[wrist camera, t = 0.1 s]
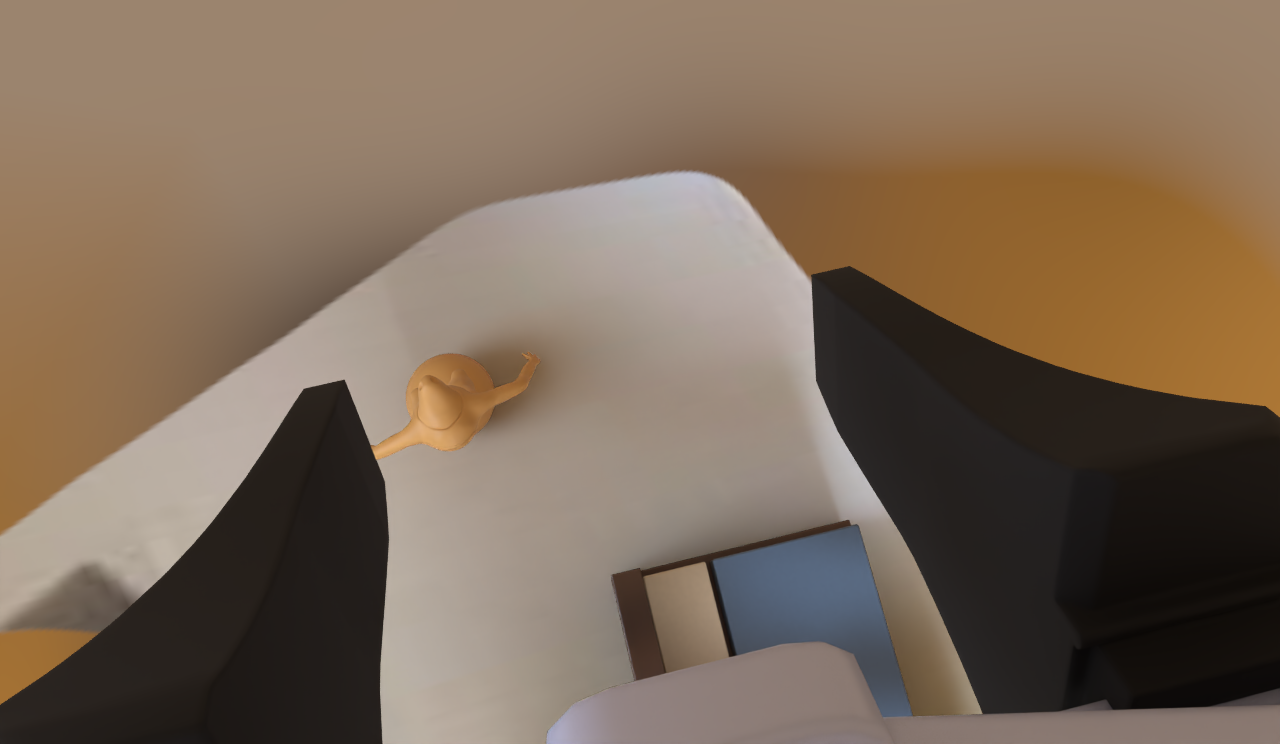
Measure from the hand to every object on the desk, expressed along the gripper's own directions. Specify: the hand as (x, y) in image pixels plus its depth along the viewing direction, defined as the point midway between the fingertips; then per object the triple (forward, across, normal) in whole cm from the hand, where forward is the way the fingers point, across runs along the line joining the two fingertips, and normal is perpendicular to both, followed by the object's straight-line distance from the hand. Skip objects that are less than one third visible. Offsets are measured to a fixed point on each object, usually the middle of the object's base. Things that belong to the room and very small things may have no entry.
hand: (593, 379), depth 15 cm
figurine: (+26, +6, +20) cm, 33 cm away
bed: (+15, -5, +30) cm, 34 cm away
